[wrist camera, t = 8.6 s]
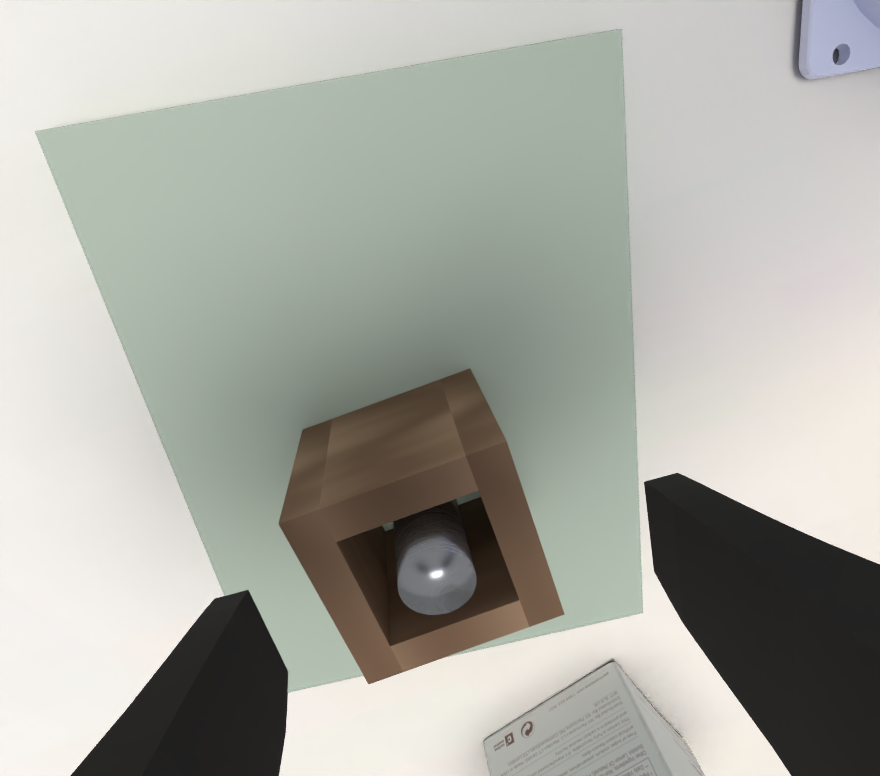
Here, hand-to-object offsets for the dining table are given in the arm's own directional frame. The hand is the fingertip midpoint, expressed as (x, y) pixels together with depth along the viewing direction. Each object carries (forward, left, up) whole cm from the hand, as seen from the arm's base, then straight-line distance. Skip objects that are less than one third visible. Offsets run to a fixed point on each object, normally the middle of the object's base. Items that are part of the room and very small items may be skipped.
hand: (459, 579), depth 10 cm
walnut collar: (+1, +3, -8) cm, 9 cm away
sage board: (+1, +1, -9) cm, 9 cm away
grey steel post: (+1, +3, -9) cm, 10 cm away
